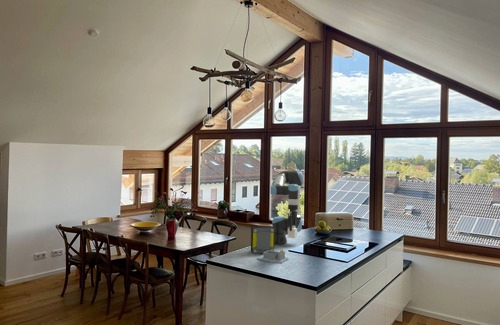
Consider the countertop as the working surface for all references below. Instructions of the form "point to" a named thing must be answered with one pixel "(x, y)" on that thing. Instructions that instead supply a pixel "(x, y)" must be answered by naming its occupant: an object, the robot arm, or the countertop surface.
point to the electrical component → (262, 239)
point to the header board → (273, 256)
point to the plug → (293, 233)
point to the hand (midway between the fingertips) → (292, 234)
